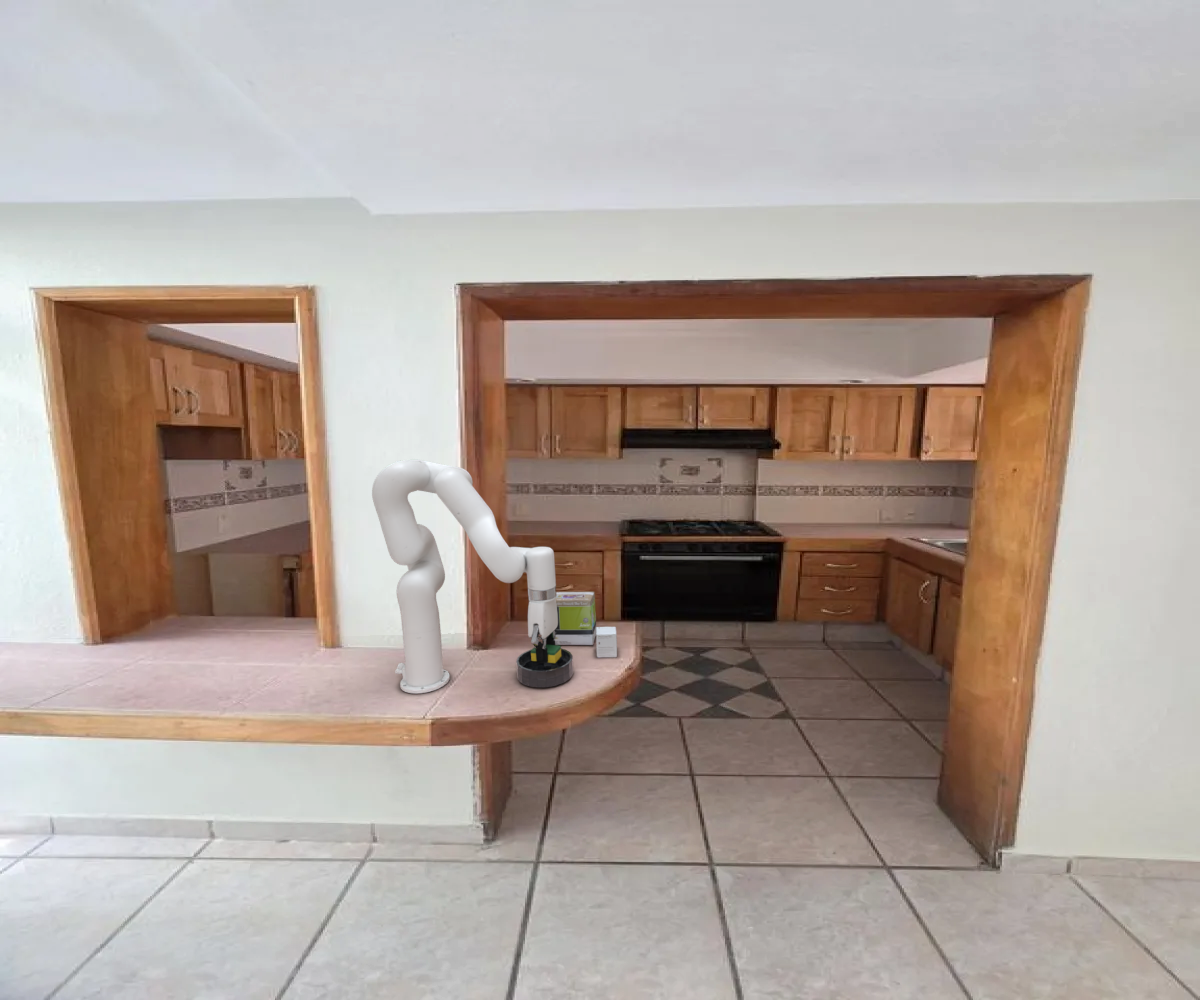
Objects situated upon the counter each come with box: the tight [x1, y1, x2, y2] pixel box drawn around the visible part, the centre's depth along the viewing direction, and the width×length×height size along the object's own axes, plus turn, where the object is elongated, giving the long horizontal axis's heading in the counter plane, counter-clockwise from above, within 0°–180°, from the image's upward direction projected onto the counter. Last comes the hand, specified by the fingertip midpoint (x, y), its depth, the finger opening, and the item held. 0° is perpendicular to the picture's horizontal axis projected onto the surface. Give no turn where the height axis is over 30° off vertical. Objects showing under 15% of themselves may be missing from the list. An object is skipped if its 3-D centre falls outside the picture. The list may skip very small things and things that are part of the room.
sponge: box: [530, 645, 562, 663], centre depth 135 cm, size 7×4×3 cm, turn 72°
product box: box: [595, 626, 618, 658], centre depth 149 cm, size 6×6×7 cm
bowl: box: [515, 647, 574, 689], centre depth 136 cm, size 15×15×5 cm
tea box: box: [555, 591, 597, 646], centre depth 160 cm, size 15×10×15 cm, turn 84°
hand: (546, 657), depth 136 cm, fingers closed on sponge, 4 cm apart
